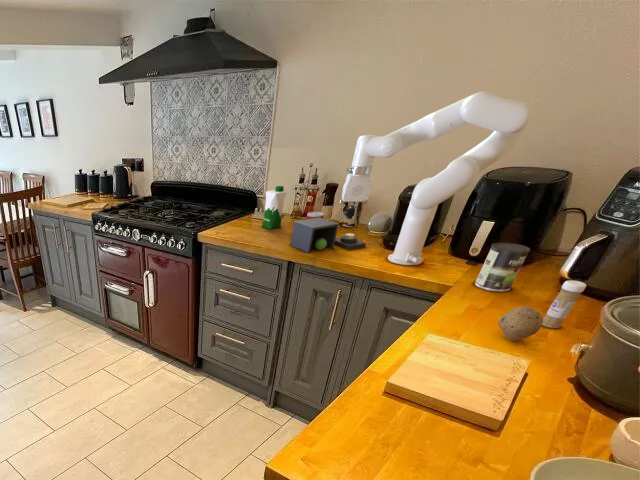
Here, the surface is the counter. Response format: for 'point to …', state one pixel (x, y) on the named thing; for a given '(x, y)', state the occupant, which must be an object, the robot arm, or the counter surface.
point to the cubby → (313, 233)
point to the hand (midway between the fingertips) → (348, 218)
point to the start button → (349, 236)
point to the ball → (320, 244)
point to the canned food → (315, 215)
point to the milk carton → (274, 207)
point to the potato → (520, 323)
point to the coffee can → (501, 266)
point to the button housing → (349, 243)
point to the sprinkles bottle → (563, 303)
